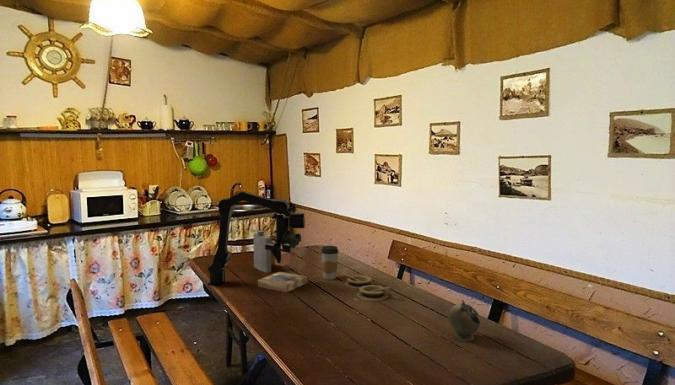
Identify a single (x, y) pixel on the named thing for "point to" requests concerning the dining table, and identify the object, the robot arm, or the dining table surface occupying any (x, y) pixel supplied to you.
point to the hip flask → (262, 252)
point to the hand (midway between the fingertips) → (282, 261)
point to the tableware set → (366, 287)
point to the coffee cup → (329, 262)
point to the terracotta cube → (284, 259)
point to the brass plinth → (282, 281)
